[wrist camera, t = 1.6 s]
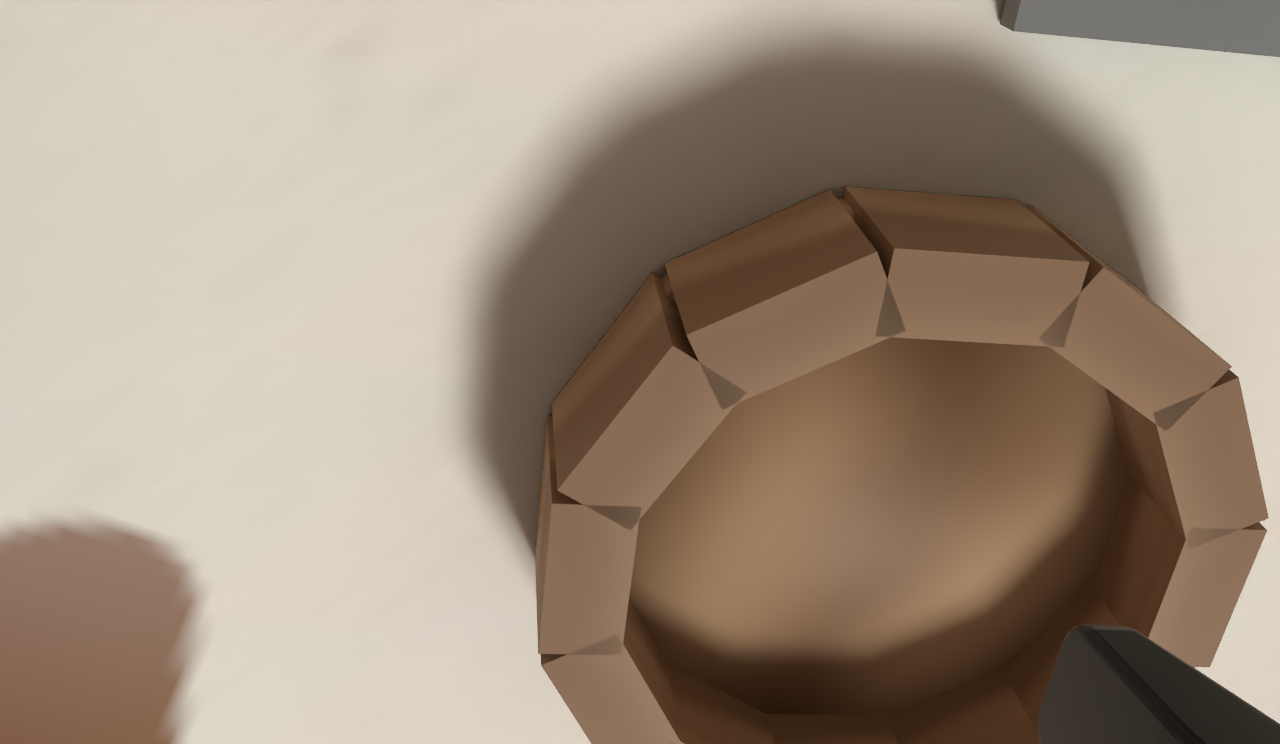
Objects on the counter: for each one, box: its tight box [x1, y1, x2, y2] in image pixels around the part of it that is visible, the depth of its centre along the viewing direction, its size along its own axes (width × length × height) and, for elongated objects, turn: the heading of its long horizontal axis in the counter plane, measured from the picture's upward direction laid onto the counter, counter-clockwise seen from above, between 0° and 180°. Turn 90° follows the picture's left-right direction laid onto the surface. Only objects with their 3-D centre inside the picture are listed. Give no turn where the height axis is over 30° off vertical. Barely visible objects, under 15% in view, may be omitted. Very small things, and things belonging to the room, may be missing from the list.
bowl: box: [535, 187, 1268, 744], centre depth 23 cm, size 13×13×3 cm
